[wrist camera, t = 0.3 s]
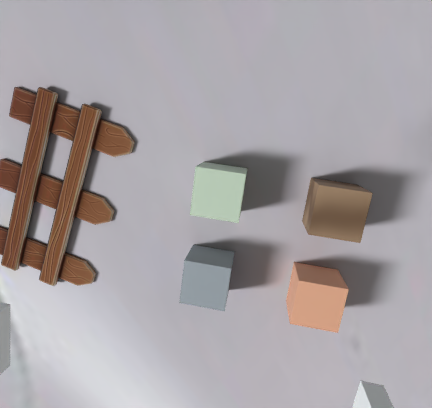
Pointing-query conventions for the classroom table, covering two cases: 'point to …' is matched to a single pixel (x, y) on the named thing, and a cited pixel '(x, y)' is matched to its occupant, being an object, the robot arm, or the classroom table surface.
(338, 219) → the walnut block
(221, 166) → the sage block
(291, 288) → the terracotta block
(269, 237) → the classroom table surface
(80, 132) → the decorative fence
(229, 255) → the slate block
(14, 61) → the classroom table surface
